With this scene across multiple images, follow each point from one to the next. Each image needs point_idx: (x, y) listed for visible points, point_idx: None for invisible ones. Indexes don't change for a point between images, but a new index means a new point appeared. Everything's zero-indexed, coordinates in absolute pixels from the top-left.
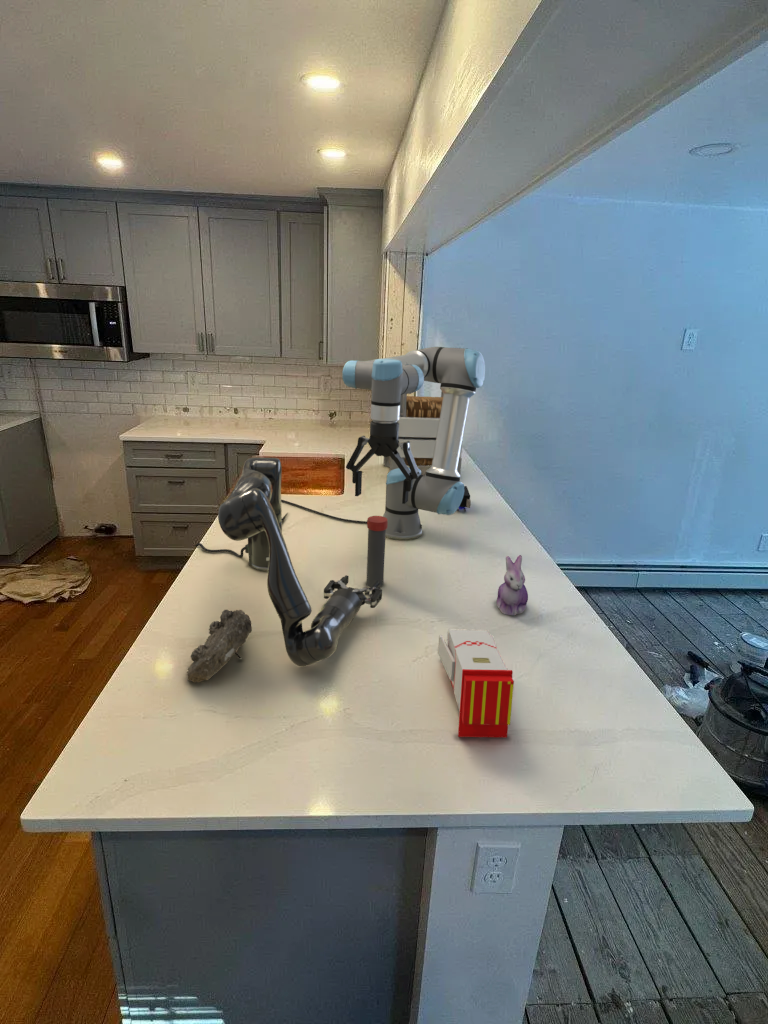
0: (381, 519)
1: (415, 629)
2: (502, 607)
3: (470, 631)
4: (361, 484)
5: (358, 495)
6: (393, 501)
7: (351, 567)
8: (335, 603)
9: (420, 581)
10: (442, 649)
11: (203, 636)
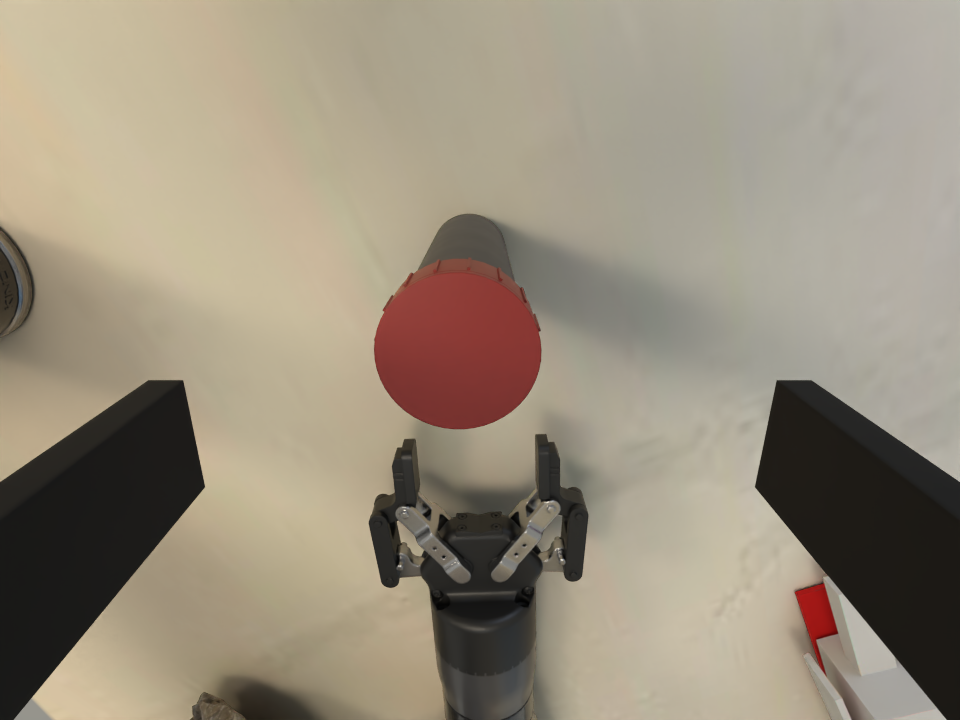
0: (490, 347)
1: (697, 486)
2: None
3: None
4: (104, 444)
5: (198, 464)
6: None
7: (299, 128)
8: (490, 711)
9: (653, 131)
10: (836, 713)
11: (180, 699)
